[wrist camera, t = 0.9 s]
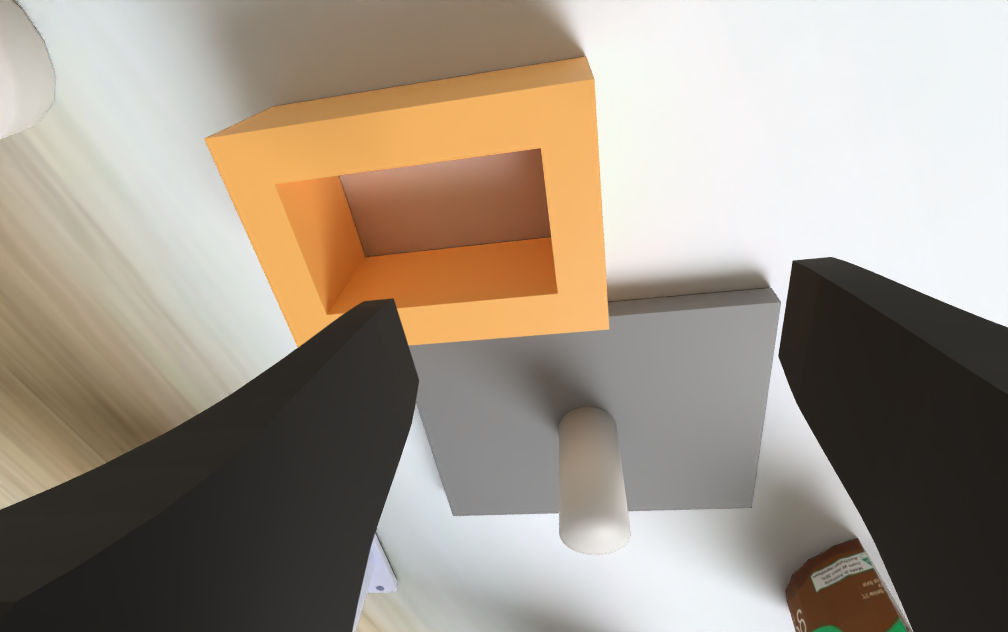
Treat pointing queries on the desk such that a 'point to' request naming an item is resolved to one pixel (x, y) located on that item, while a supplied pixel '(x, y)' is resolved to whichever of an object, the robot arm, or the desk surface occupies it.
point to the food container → (842, 594)
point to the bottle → (22, 72)
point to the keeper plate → (605, 414)
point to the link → (413, 141)
